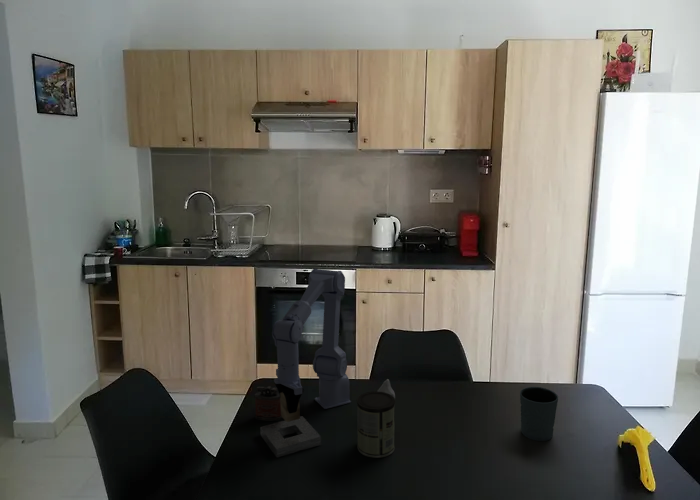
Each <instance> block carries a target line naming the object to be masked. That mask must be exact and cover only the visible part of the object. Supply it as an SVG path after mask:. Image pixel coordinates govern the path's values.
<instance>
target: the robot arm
mask: <svg viewBox="0 0 700 500" xmlns="http://www.w3.org/2000/svg"><path fill="white" fill-rule="evenodd" d="M307 282H308V285H307V287H306V289H305V291H304V293H303V295H302V296H301V298H300V300H295V301H294V302H293V303H292V305H291V306H290V308H289V309H288V311H287V312H286V313H285V315H284V316H283V318H280V319H278V320H276V321H275V322H274V324H273V327H272V331H271V336H272V338H273V340H274V346H275V347H276V355H277V359H276V360H277V368H276V369H275V375H276V378H274V379H273V382H274V385H275V388H277V391H278V393H279V394H280V393H281V392H283V394H284V396H285V398H286V402H287V408H288V412H289V413H294V412H296V411H297V407H298V403H299V404H300V399H301V397H302V395H303V394H304V391H305V390H304V388H303V386H302V383H301V377H300V369H299V366H300V365H299V364H300V363H299V361H300V359H299V341H300V340H301V338H302V334H303V330H304V325H305V323H306V321H307V320H308V319H309V317H310V315H311V314H312V308H311V307H312V306H313V305H314V303H315V302H316V301H317V299H319V297H320V296H322V297H323V298H324V305H323V310H324V311H323V325H322V326H323V327H322V346H321V347H319V348H318V349H316V351H315V352H314V359H313V360H312V369H313V372H314V374H316V377H318V391H319V392H318V395H319V396H318V397H315V398H314V400H315V402H317V404H319V405H320V406H321V407H322V408H323V409H324V410H327V409H331V408H335V407H339V406H343V405H346V404H350V403H351V402H352V400H350V398H351V397H350V396H351V395H350V394H351V391H350V378H349V376H348V374H347V369H348V361H347V354H346V352H345V351H344V350H343V349H342V348H341V347H340V346H339V334H340V333H339V331H340V317H341V316H340V313H341V311H340V310H341V297H343V296H345V289H346V277H345V275H344V273H343V271H341V270H332V269H331V270H330V269H320V268H319V269H318V268H313V269H312V270H311V271H310V272H309V275H308V281H307Z"/></svg>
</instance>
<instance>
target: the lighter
mask: <svg viewBox="0 0 700 500" xmlns="http://www.w3.org/2000/svg"><path fill="white" fill-rule="evenodd" d="M277 391H278V389H277V387H272V386H271V385H268V386H266V387H265V386H257V387H256V393H255V394H254V400H255V402H254V403H255V417H254V418H255V419H256V420H258V421H267V422H268V421H272V422H273V421H280V420H282V419H283V418H282V416H281V399H280V394H279V392H277Z"/></svg>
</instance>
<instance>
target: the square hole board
mask: <svg viewBox="0 0 700 500" xmlns="http://www.w3.org/2000/svg"><path fill="white" fill-rule="evenodd" d="M259 429H260V430H259V431H260V437H261V438H262V439H263V440H264V442H265V444H266V445H267V446H268V448H269V449H270V450H271V452H272V453H273V455H274V456H275V457H276V458H280V457H284V456H287V455H291V454H294V453H297V452H301V451H305V450H308V449H311V448H315V447H318V446H321V445H322V436H321V435H320V433H318V431H317V430H316V429H315V428H313V426H312V425H311V424H310V423H309V422H308V421H307V419H306V418H305V417H304V416H301V415H300V419H297V420H293V421H289V422H286V421H285V420H281V421H278V422H274V423H270V424H267V425H262V426H260V427H259ZM292 434H295V435H294V436H290V437H286V438H284V437H285V436H289V435H292Z"/></svg>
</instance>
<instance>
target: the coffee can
mask: <svg viewBox="0 0 700 500" xmlns="http://www.w3.org/2000/svg"><path fill="white" fill-rule="evenodd" d="M377 391H378V390H377ZM377 391H368V392H365V393H361V394H359V396H357V398H356V409H357V412H356V413H357V416H356V417H357V421H356V422H357V451H358V452H359V453H360V454H362V455H363V456H365V457H367V458H371V459H372V458H373V459H376V458H377V459H380V458H386V457H388V456H390V455H391V454H393V452H394V451H395V449H396V448H395V447H396V446H395V418H396V417H395V412H396V409H395V405H396V397H395V398H394V397H393V396H392V395H390V394H388V393H384V392H377Z"/></svg>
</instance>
